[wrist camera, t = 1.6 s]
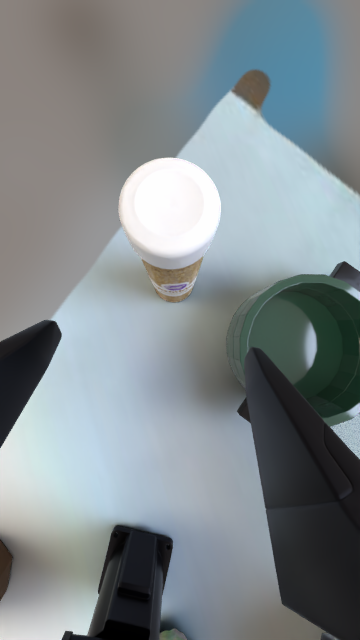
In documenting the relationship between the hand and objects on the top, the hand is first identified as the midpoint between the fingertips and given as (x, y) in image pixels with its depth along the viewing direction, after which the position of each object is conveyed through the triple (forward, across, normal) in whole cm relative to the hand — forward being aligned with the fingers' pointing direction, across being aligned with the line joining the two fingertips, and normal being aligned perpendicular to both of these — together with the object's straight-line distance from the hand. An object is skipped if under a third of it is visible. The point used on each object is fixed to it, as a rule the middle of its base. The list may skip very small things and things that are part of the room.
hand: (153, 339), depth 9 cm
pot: (+9, -14, +8) cm, 18 cm away
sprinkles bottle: (+13, 0, +5) cm, 14 cm away
